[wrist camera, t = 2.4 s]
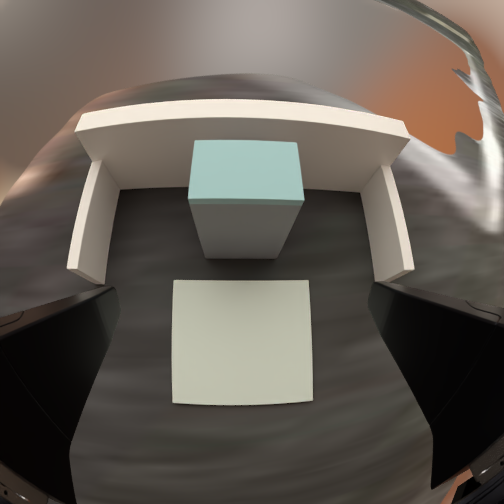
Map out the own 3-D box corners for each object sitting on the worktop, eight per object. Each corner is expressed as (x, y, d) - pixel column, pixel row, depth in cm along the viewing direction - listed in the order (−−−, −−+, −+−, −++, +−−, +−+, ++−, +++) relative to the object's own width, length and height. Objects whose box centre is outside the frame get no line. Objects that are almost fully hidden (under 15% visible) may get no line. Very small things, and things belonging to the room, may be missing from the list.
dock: (384, 284, 24) (445, 252, 15) (95, 284, 22) (36, 250, 13) (364, 177, 27) (402, 121, 19) (115, 173, 26) (82, 113, 17)
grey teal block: (276, 258, 24) (304, 200, 14) (205, 258, 23) (187, 198, 14) (274, 215, 25) (296, 142, 16) (207, 215, 25) (194, 140, 15)
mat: (311, 399, 20) (312, 400, 20) (173, 401, 19) (172, 402, 19) (307, 281, 23) (308, 280, 23) (174, 281, 22) (173, 279, 22)
